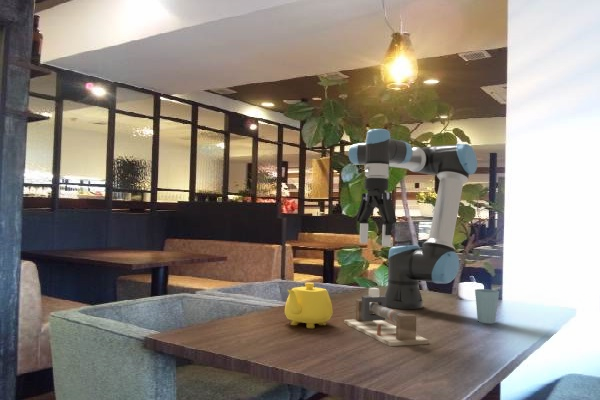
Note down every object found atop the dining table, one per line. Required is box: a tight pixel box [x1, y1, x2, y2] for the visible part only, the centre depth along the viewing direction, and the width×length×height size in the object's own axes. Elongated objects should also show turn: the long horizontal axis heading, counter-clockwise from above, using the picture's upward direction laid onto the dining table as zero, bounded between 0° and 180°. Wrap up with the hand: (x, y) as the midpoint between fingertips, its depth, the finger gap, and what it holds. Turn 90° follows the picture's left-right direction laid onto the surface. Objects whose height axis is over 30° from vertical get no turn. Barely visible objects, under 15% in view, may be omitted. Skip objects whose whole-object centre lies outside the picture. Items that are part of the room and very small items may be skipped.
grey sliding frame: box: [361, 287, 387, 321], centre depth 160 cm, size 2×7×10 cm, turn 110°
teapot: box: [284, 282, 334, 329], centre depth 161 cm, size 14×20×13 cm
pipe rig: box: [343, 298, 430, 347], centre depth 154 cm, size 29×12×8 cm, turn 20°
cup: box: [474, 288, 500, 324], centre depth 175 cm, size 8×8×10 cm
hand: (374, 244), depth 166 cm, fingers open, 13 cm apart
